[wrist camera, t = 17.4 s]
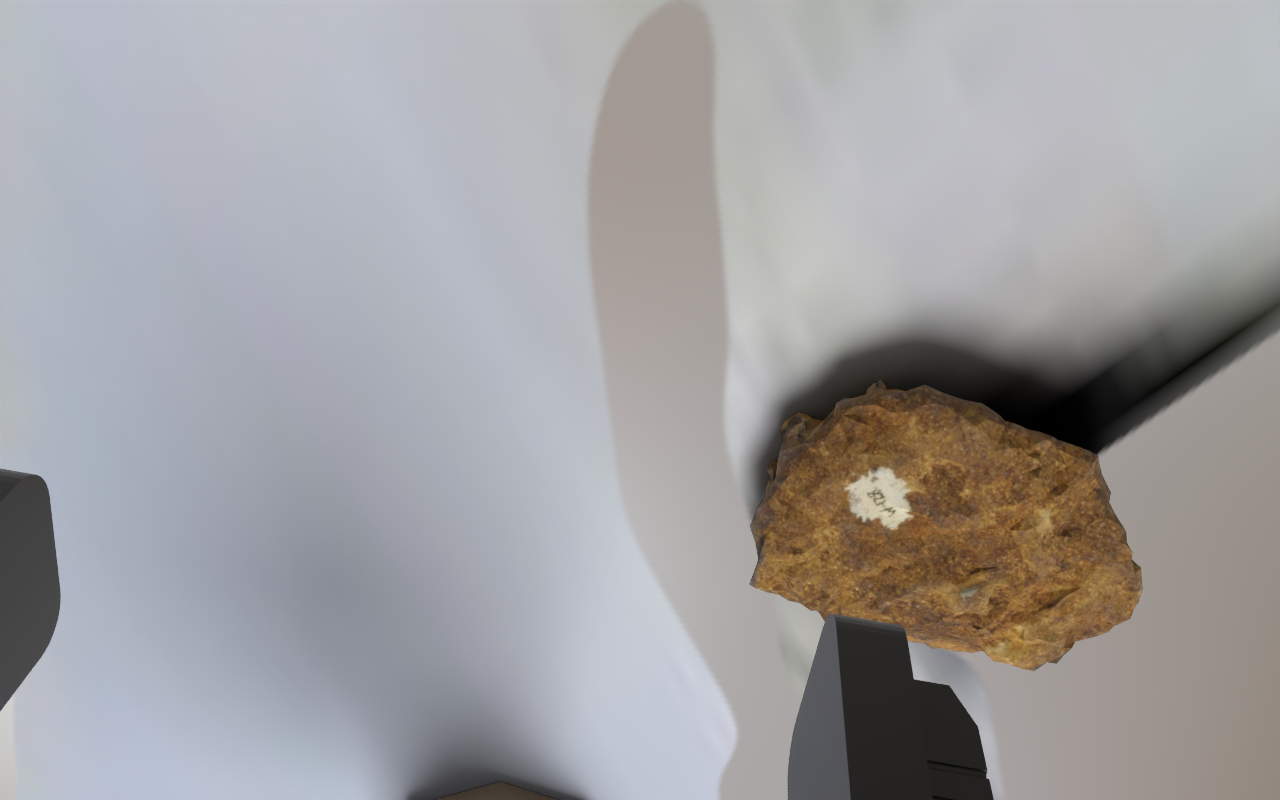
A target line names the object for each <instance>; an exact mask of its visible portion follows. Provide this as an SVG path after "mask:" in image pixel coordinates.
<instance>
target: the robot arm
mask: <svg viewBox="0 0 1280 800" xmlns="http://www.w3.org/2000/svg"><path fill="white" fill-rule="evenodd" d="M59 609H60V585H59V576H58V567H57V558H56V549H55V541H54V532H53V523H52V514H51V505H50V497H49V491H48V488H47V485H46V483H45V481H44V480H43V479H42V478H41V477H40V476H38V475H34V474H28V473H22V472H16V471H11V470H5V469H0V711H1V710H2V708H3V707H4V706H5V704H6V703H7V701H8V700H9V699H10V698H11V696H12V695H13V694H14V692H15V691H16V690H17V688H18V687H19V686H20V684H21V683H22V682H23V680H24V679H25V678H26V676H27V675H28V674H29V672H30V671H31V670H32V668H33V667H34V666H35V664H36V663H37V662H38V660H39V659H40V658H41V656H42V655H43V653H44V652H45V650H46V648H47V646H48V645H49V642H50V640H51V638H52V636H53V633H54V630H55V627H56V623H57V620H58V615H59ZM986 774H987V767H986V762H985V758H984V753H983V748H982V744H981V739H980V734H979V730H978V726H977V725H976V724H975V722H974V721H973V719H972V718H971V716H970V715H969V713H968V712H967V711H966V709H965V708H964V706H963V705H962V703H961V702H960V701H959V699H958V698H957V696H956V695H955V693H954V692H953V690H952V689H951V688H950V686H949V685H943V684H937V683H931V682H925V681H920V680H914V679H913V672H912V666H911V660H910V654H909V647H908V641H907V636H906V632H905V629H904V628H903V626H901V625H896V624H890V623H884V622H878V621H872V620H867V619H861V618H855V617H849V616H843V615H837V614H832V613H831V614H830V615H829V616H828V617H827V619H826V621H825V624H824V627H823V630H822V633H821V636H820V640H819V643H818V647H817V650H816V654H815V657H814V660H813V664H812V667H811V671H810V674H809V678H808V681H807V685H806V688H805V691H804V695H803V698H802V702H801V705H800V709H799V712H798V716H797V719H796V723H795V727H794V731H793V737H792V742H791V749H790V757H789V767H788V800H994V799H993V795H992V790H991V785H990V781H989V779H987V778H986Z"/></svg>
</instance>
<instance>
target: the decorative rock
mask: <svg viewBox="0 0 1280 800" xmlns="http://www.w3.org/2000/svg"><path fill="white" fill-rule="evenodd" d="M780 431H781V433H782V436H783V441H782V444H781V448H780V452H779V456H778V463H777V462H775V461H771V462H770V464H769V466H768V469H767V472H768V473H769V475H770V479H769V482H768V484H767V487H766V490H765V496H764V499H763V501H762V502H761V504H760V505H759V507H758V508H757V510H756V512H755V515H754V518H753V520H752V523H751V525H750V528H751V531H752V533H753V536H754V539H755V542H756V548H757V554H758V562H757V565H756V568H755V571H754V574H753V576H752V579H751V582H750V585H751V586H753V587H755V588H759V589H761V590H763V591H765V592H769V593H774V594H779V595H781V596H782V597H784V598H785V599H787V600H789V601H793V602H797V603H800V604H802V605H804V606H805V607H807V608H808V609H809V610H811V611H814V610H817V611H818V612H819V613H820V614H821V616H822V618H823V620H824V621H826V619H827V617H828V616H829V615H830V614H831V613H832V614H837V615H843V616H849V617H855V618H861V619H867V620H872V621H878V622H884V623H890V624H896V625H901V626H903V628H904V629H905V632H906V636H907V641H910V642H917V643H925V644H926V645H927V646H929V647H930V648H932V649H936V648H942V649H946V650H951V651H958V652H969V653H973V652H978V651H984V652H985V653H986V654H987V655H988V656H989V657H990V658H991V659H992V660H993V661H996V662H1001V663H1006V664H1011V665H1013V666H1016V667H1019V668H1022V669H1026V670H1032V671H1035V670H1036V669H1038V668H1039V667H1041V666H1042V665H1044V664H1045V663H1046V662H1050V663H1057V662H1058V661H1059V660H1060V659H1061V658H1062V656H1063V655H1064V654H1065V653H1067V652H1068V651H1069V650H1070V649H1071V648H1072V646H1073V644H1074V643H1075V641H1079V640H1083V639H1087V638H1091V637H1095V636H1098V635H1101V634H1104V633H1106V632H1108V631H1109V630H1110V629H1111V628H1112V627H1113V626H1115V625H1117V624H1120V623H1122V622H1124V621H1127V620H1129V619H1130V618H1131V616H1132V613H1133V610H1134V607H1135V606H1136V605H1137V604H1138V602H1139V598H1140V595H1141V593H1142V590H1143V587H1142V577H1141V568H1140V567H1139V566H1138V565H1137V564H1136V563H1135V562H1134V561H1133V560H1132V554H1133V553H1132V551H1131V549H1130V548H1129V546H1128V544H1127V539H1126V531H1125V529H1124V528H1123V526H1122V524H1121V523H1120V521H1119V520H1118V518H1117V516H1116V515H1115V513H1114V511H1113V509H1112V507H1111V505H1110V503H1109V499H1110V494H1111V492H1110V490H1109V488H1108V486H1107V484H1106V482H1105V480H1104V478H1103V476H1102V473H1101V469H1100V465H1099V458H1098V456H1097V455H1096V454H1094V453H1092V452H1091V451H1088V450H1085V449H1083V448H1080V447H1078V446H1075V445H1072V444H1069V443H1066V442H1063V441H1060V440H1057V439H1056V438H1054V437H1053V436H1050V435H1047V434H1044V433H1042V432H1038V431H1032V430H1028V429H1026V428H1024V427H1022V426H1019V425H1017V424H1015V423H1011V422H1007V421H1005V420H1004V419H1003V418H1002V417H1001V416H1000V415H999V414H997V413H996V412H994V411H993V410H991V409H990V408H988V407H987V406H986V405H984V404H983V403H978V402H972V401H967V400H962V399H960V398H957V397H954V396H951V395H948V394H945V393H943V392H940V391H938V390H936V389H934V388H931V387H929V386H927V385H923V386H920V387H917V388H914V389H911V390H908V391H903V390H900V389H887V388H886V386H885V384H884V383H883V381H882V380H879V381H878V382H877V383H876V384H875V383H873V384H872V385H871V386H870V387H869V388H868V389H867V391H866V395H862V396H859V397H855V398H843V399H841V400H840V401H838V402H837V403H836V407H835V409H834V410H833V411H832V412H831V413H830V414H829V415H828V416H827V417H826V419H824V420H823V421H821V420H818V419H813V418H812V417H811V416H809V415H807V414H804V413H799V412H797V413H796V414H794V415H793V416H791V417H790V418H788V419H787V420H786V421H785V422H784V423H783V425H782V426H781V428H780Z"/></svg>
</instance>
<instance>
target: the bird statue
mask: <svg viewBox="0 0 1280 800" xmlns="http://www.w3.org/2000/svg"><path fill="white" fill-rule="evenodd" d="M435 800H557V799H554V798H550V797H547V796H544V795H541V794H538V793H535V792H531V791H528V790H525V789H522V788H519V787H515V786H512V785H509V784H506V783H503V782H497V783H493V784H489V785H486V786H482V787H479V788H475V789H471V790H468V791H464V792H461V793H457V794H453V795H450V796H446V797H442V798H439V799H435Z"/></svg>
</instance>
